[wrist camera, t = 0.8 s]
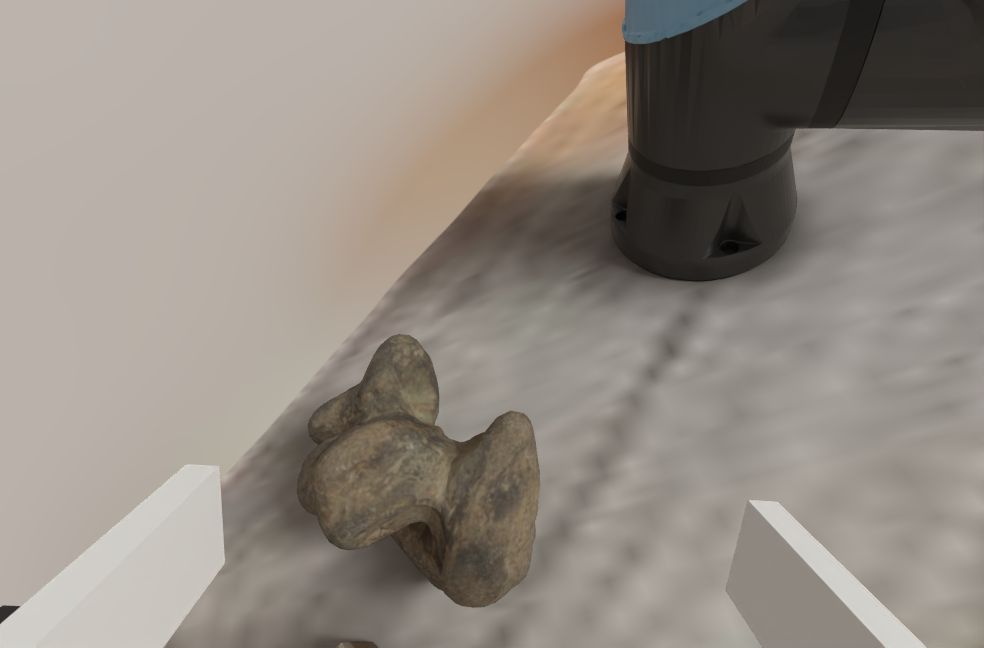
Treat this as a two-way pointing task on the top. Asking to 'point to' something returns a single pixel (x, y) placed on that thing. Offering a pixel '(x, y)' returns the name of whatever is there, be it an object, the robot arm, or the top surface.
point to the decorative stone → (424, 479)
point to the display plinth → (357, 645)
